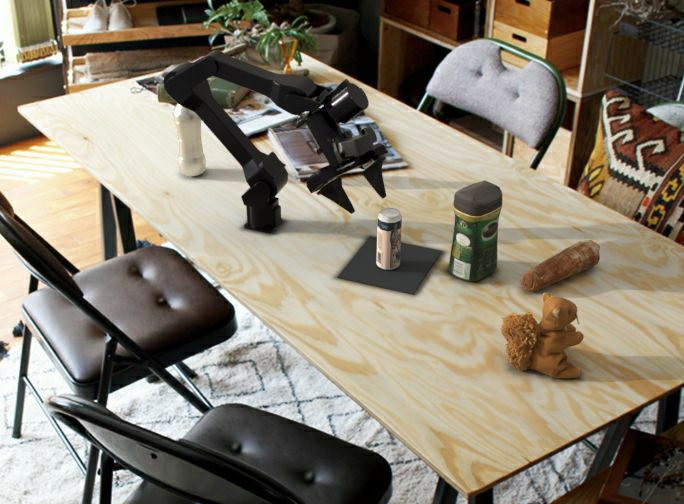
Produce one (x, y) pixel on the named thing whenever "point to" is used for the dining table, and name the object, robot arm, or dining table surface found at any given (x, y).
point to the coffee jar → (475, 231)
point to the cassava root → (562, 265)
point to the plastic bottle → (189, 141)
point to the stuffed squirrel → (543, 338)
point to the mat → (399, 279)
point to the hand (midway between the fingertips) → (369, 205)
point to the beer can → (389, 238)
